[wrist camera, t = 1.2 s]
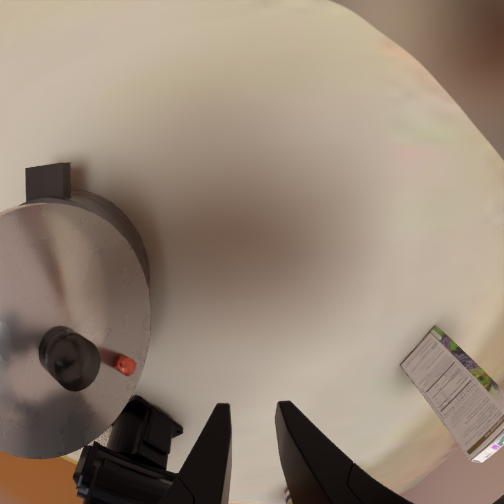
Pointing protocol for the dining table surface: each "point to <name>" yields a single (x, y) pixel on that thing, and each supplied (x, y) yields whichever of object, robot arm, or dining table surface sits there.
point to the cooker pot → (80, 203)
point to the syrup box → (459, 394)
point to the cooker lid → (66, 328)
